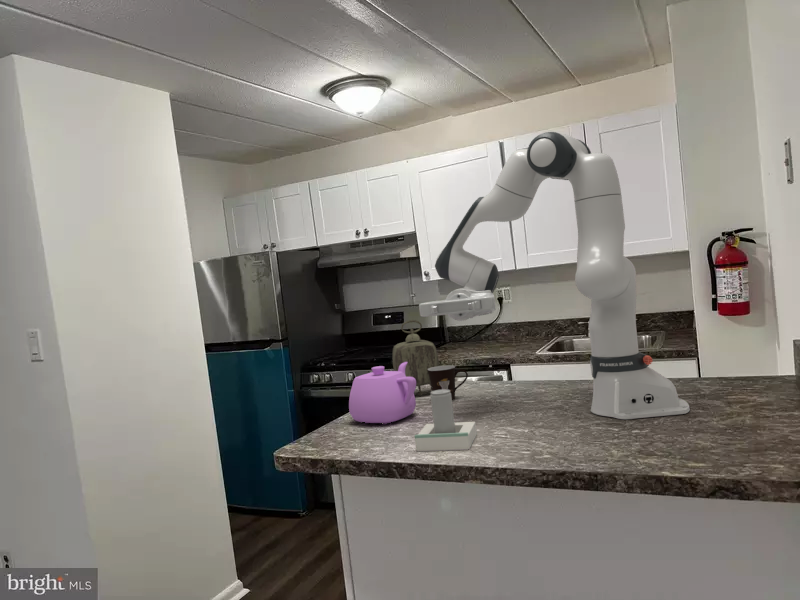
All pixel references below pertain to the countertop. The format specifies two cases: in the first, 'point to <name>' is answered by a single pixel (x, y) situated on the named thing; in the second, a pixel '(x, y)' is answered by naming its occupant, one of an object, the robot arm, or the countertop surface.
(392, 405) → the teapot
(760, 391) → the countertop surface
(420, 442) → the socket block
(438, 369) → the coffee mug
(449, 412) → the beverage can
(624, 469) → the countertop surface
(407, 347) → the tabletop clock
